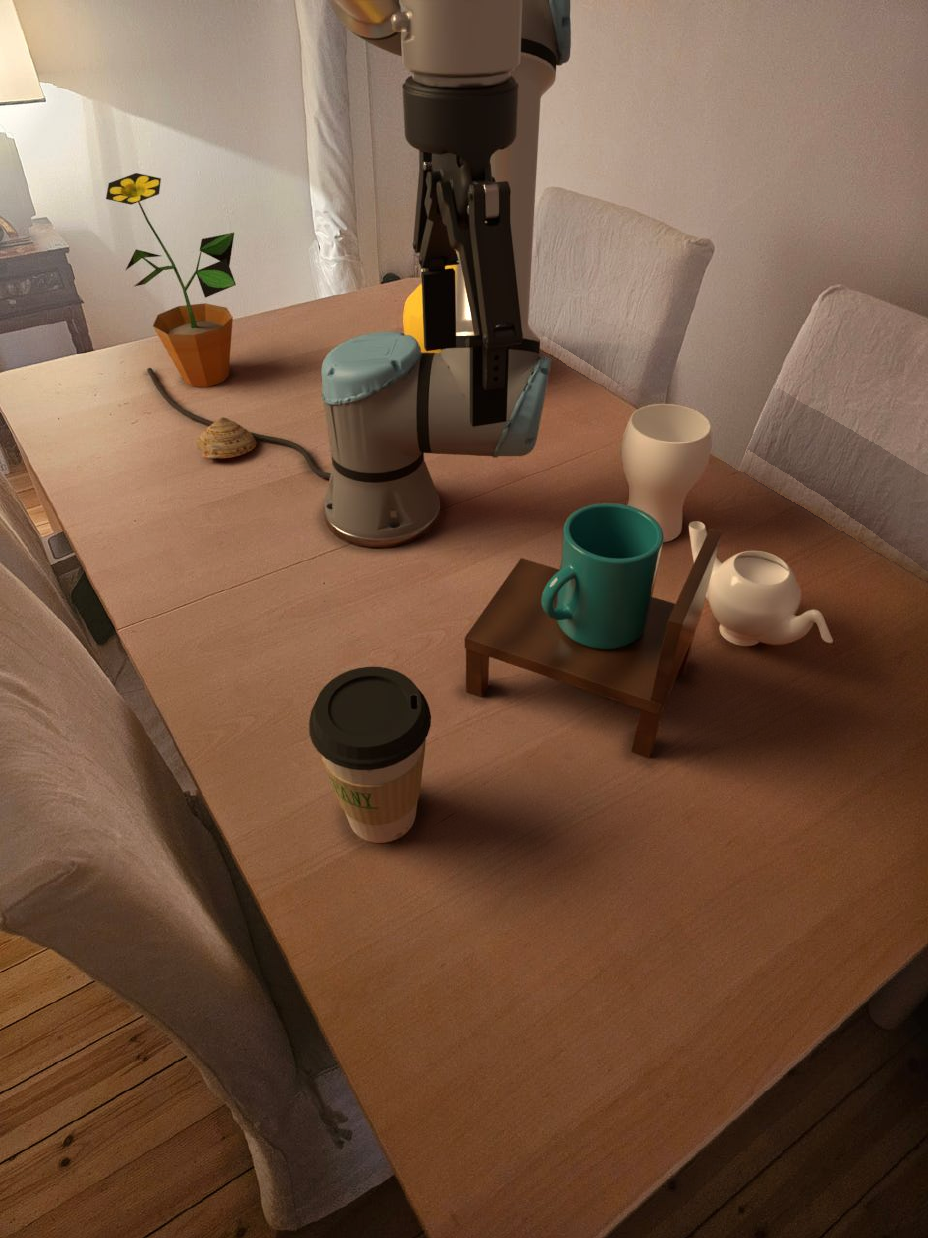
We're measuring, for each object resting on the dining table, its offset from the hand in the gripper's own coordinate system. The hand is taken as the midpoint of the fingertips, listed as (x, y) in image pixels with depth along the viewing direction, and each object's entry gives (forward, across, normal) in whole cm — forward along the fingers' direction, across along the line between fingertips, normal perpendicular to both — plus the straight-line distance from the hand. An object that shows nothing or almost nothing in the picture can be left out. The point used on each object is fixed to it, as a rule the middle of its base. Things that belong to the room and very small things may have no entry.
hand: (462, 382), depth 67 cm
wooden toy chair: (+33, +6, +11) cm, 35 cm away
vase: (+33, -66, +19) cm, 76 cm away
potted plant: (+33, -77, -22) cm, 87 cm away
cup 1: (+25, +6, +11) cm, 28 cm away
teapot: (+33, +5, +31) cm, 46 cm away
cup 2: (+33, -17, +31) cm, 48 cm away
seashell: (+33, -52, -21) cm, 65 cm away
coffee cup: (+33, +16, -13) cm, 39 cm away
